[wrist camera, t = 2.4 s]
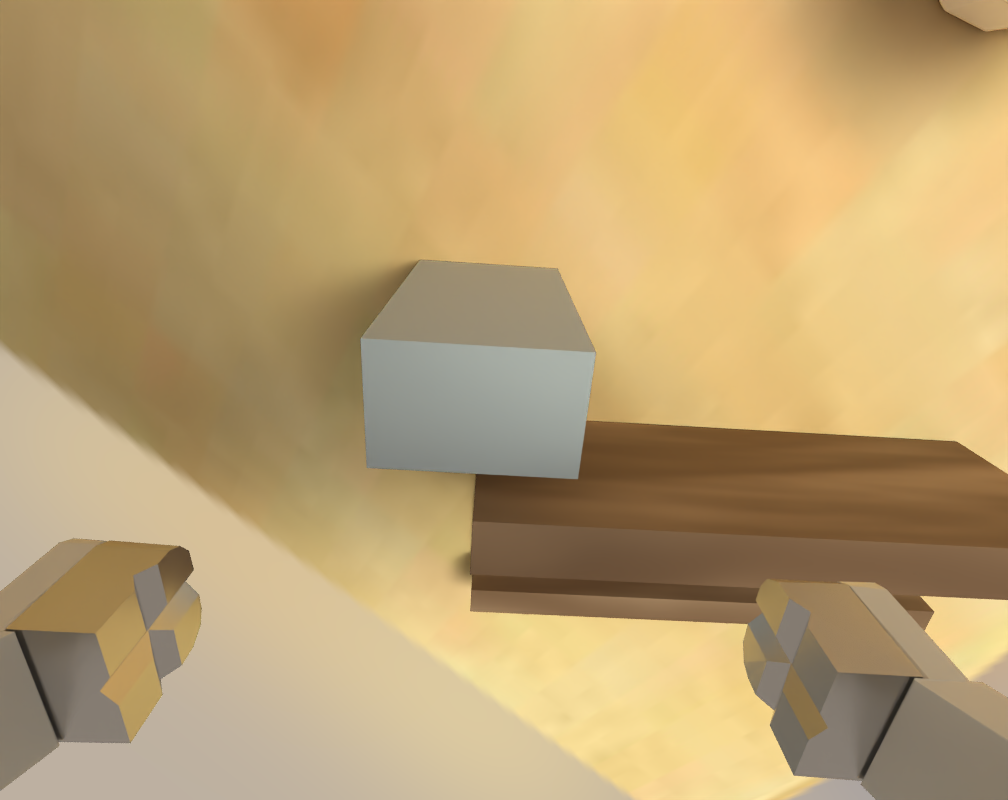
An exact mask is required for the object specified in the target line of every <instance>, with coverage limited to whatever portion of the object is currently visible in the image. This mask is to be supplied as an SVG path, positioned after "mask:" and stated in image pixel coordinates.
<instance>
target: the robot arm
mask: <svg viewBox="0 0 1008 800" xmlns="http://www.w3.org/2000/svg"><path fill="white" fill-rule="evenodd" d="M193 569H194V568H193V565H192V561H191V557H190V553H189V551H188V550H186V549H184V548H182V547H181V546H172V545H158V544H146V543H134V542H121V541H100V540H87V539H71V540H67V541H64V542H60V543H58V544H57V545H56V546H55V547H53V548H52V549H51V550H50V551H49V552H47V553H46V554H45V555H44V556H43V557H42V558H40V559H39V560H38V561H36V562H35V563H34V564H33V565H32V566H30V567H29V568H28V569H27V570H26V571H24V572H23V573H22V574H21V575H20V576H18V577H17V578H16V579H15V580H14V581H12V582H11V583H10V584H9V585H7V586H6V587H5V588H4V589H3V590H1V591H0V791H1V790H2V789H3V788H5V787H6V786H7V785H9V784H10V783H11V782H12V781H14V780H15V779H16V778H18V777H19V776H20V775H22V774H23V773H24V772H26V771H27V770H28V769H30V768H31V767H32V766H33V765H35V764H36V763H37V762H39V761H40V760H42V759H43V758H44V757H45V756H47V755H48V754H49V753H51V752H52V751H53V750H54V749H56V748H57V747H58V746H59V742H95V743H131V741H132V740H133V739H134V737H135V736H136V734H137V732H138V731H139V729H140V728H141V726H142V725H143V723H144V722H145V720H146V719H147V717H148V716H149V714H150V713H151V711H152V709H153V708H154V707H155V705H156V704H157V702H158V701H159V699H160V698H161V696H162V687H161V678H163V677H164V676H166V675H167V674H169V673H170V672H172V671H173V670H175V669H177V668H178V667H180V666H181V665H182V664H183V662H184V661H185V659H186V658H187V656H188V654H189V652H190V651H191V650H192V648H193V646H194V643H195V640H196V637H197V634H198V631H199V628H200V625H201V609H202V608H201V603H200V597H199V594H198V593H197V592H196V591H195V590H194V589H193V588H192V587H191V586H190V585H189V584H188V583H187V582H185V581H186V580H187V578H188V577H189V576H190V574H191V573H192V571H193ZM756 602H757V604H758V605H759V607H760V609H761V611H762V613H761V614H760V615H759V616H758V617H756V618H755V619H754V620H752V621H751V622H750V623H749V624H748V626H747V630H746V633H745V637H744V641H743V651H744V664H745V668H746V672H747V676H748V679H749V681H750V683H751V685H752V688H753V690H754V692H755V694H756V695H757V696H758V697H759V698H760V699H761V700H763V701H764V702H765V703H766V704H767V705H768V706H770V707H771V708H772V709H773V710H774V712H773V716H772V719H771V723H770V726H771V729H772V731H773V733H774V735H775V737H776V739H777V741H778V743H779V745H780V747H781V750H782V752H783V754H784V756H785V758H786V760H787V762H788V764H789V766H790V768H791V771H792V773H793V775H794V776H807V777H819V778H832V779H845V780H857V781H862V783H861V785H862V786H863V787H864V788H865V789H866V790H867V791H868V792H869V793H870V794H871V795H872V796H873V797H874V798H875V799H876V800H1008V697H1006V696H1004V695H1003V694H1001V693H999V692H998V691H996V690H994V689H993V688H991V687H989V686H987V685H986V684H984V683H983V682H972V681H969V680H968V679H967V678H966V677H965V676H964V674H963V673H962V672H961V671H960V670H959V669H958V668H957V667H956V666H955V664H954V663H953V662H952V661H951V660H950V659H949V658H948V657H947V656H946V655H945V653H944V652H943V651H942V650H941V649H940V648H939V647H938V646H937V645H936V643H935V642H934V641H933V640H932V639H931V638H930V637H929V636H928V635H927V633H926V632H925V631H924V630H923V629H922V628H921V627H920V626H919V625H918V623H917V622H916V621H915V620H914V619H913V618H912V617H911V616H910V615H909V613H908V612H907V611H906V610H905V609H904V608H903V607H902V606H901V605H900V604H899V602H898V601H897V600H896V599H895V598H894V597H893V596H892V595H891V594H890V592H889V591H888V590H887V589H885V588H884V587H882V586H880V585H878V584H876V583H871V582H842V581H839V582H824V581H804V580H783V579H767V580H766V581H765V582H764V583H763V584H762V585H761V586H760V589H759V592H758V595H757V598H756Z"/></svg>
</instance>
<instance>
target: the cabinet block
mask: <svg viewBox="0 0 1008 800" xmlns="http://www.w3.org/2000/svg"><path fill="white" fill-rule="evenodd" d="M360 340H361V360H362V381H363V401H364V421H365V441H366V462H367V468H378V469H397V470H416V471H434V472H453V473H471V474H490V475H509V476H527V477H546V478H564V479H578V475H579V468H580V461H581V454H582V447H583V440H584V433H585V426H586V419H587V412H588V405H589V398H590V391H591V384H592V377H593V370H594V363H595V356H596V351H595V349H594V347H593V345H592V343H591V340H590V338H589V336H588V334H587V332H586V329H585V327H584V325H583V323H582V321H581V319H580V316H579V314H578V312H577V310H576V308H575V305H574V303H573V301H572V299H571V297H570V295H569V292H568V290H567V288H566V286H565V284H564V281H563V279H562V277H561V275H560V273H559V271H558V269H556V268H541V267H525V266H510V265H494V264H479V263H463V262H448V261H432V260H419V262H418V263H417V264H416V266H415V267H414V268H413V270H412V271H411V272H410V274H409V275H408V276H407V278H406V279H405V280H404V281H403V283H402V284H401V285H400V287H399V288H398V289H397V291H396V292H395V293H394V295H393V296H392V297H391V299H390V300H389V301H388V303H387V304H386V305H385V307H384V308H383V309H382V310H381V312H380V313H379V314H378V316H377V317H376V318H375V320H374V321H373V322H372V324H371V325H370V326H369V328H368V329H367V330H366V332H365V333H364V334H363V336H362V337H361V338H360Z"/></svg>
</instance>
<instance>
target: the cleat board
mask: <svg viewBox="0 0 1008 800" xmlns="http://www.w3.org/2000/svg"><path fill="white" fill-rule="evenodd" d="M470 574H473V575H472V589H471V608H470V611H474V612H496V613H518V614H540V615H562V616H584V617H606V618H628V619H650V620H672V621H693V622H715V623H737V624H749V623H750V622H751V621H752V620H754V619H755V618H756V617H758V616H759V615H760V614H761V613H762V611H761V609H760V607H759V605H758V604H757V602H756V598H757V595H758V592H759V589H760V586H761V585H762V584H763V583H764V582H765V581H766V580H767V579H783V580H804V581H824V582H839V581H842V582H871V583H876V584H878V585H880V586H882V587H884V588H885V589H887V590H888V591H889V592H890V594H891V595H892V596H893V597H894V598H895V599H896V600H897V601H898V602H899V604H900V605H901V606H902V607H903V608H904V609H905V610H906V611H907V612H908V613H909V615H910V616H911V617H912V618H913V619H914V620H915V621H916V622H917V623H918V625H919V626H920V627H921V628H922V629H923V630H925V628H926V627H927V625H928V623H929V621H930V619H931V617H932V615H933V613H934V611H933V610H932V609H931V608H930V607H929V606H928V604H927V603H926V602H925V601H924V600H923V599H922V598H921V597H920V596H936V597H957V598H978V599H999V600H1008V474H1007V473H1005V472H1003V471H1002V470H1000V469H999V468H997V467H996V466H994V465H993V464H991V463H989V462H988V461H986V460H985V459H983V458H982V457H980V456H978V455H977V454H975V453H974V452H972V451H971V450H969V449H968V448H966V447H964V446H963V445H961V444H960V443H958V442H952V441H934V440H916V439H898V438H880V437H863V436H845V435H827V434H809V433H791V432H774V431H756V430H738V429H720V428H702V427H685V426H667V425H649V424H631V423H614V422H596V421H586V426H585V433H584V440H583V447H582V454H581V461H580V468H579V475H578V479H564V478H546V477H527V476H509V475H490V474H476V486H475V499H474V511H473V525H472V546H471V566H470Z"/></svg>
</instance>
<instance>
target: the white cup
mask: <svg viewBox="0 0 1008 800" xmlns="http://www.w3.org/2000/svg"><path fill="white" fill-rule="evenodd" d="M939 2H940V3H941V5H942V7H943V9H944V10H945V11H946V12H948V13H950V14H952V15H954V16H956V17H958V18H960V19H962V20H964V21H965V22H967V23H969V24H971V25H973V26H975V27H977V28H979V29H981V30H983V31H995V30H1004V29H1008V0H939Z"/></svg>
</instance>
